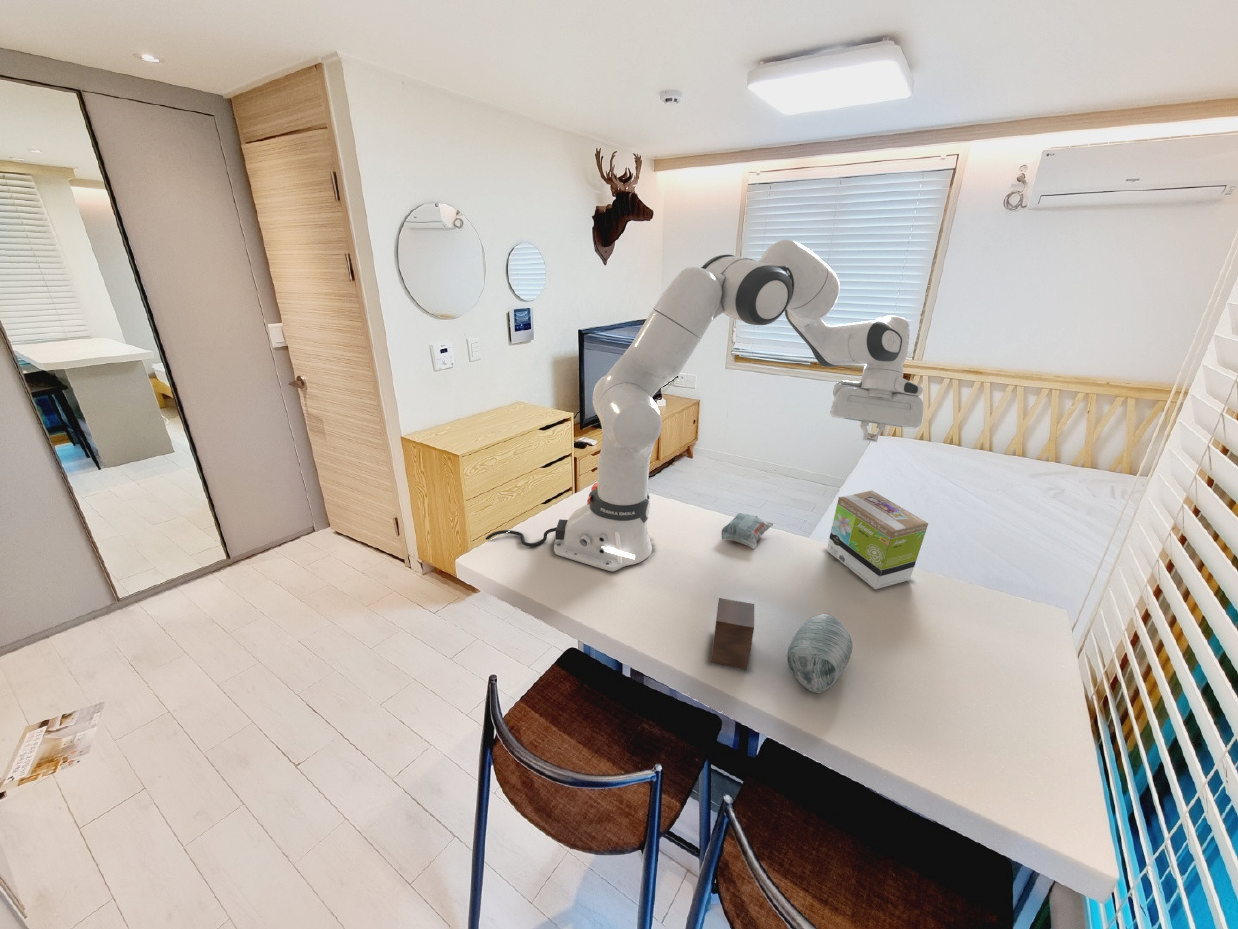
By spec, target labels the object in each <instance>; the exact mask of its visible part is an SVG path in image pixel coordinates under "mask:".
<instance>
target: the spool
mask: <svg viewBox="0 0 1238 929" xmlns="http://www.w3.org/2000/svg"><path fill="white" fill-rule="evenodd" d="M853 648H854V645H853V640H852V636H851V634H850V632H849V631H848V629H847V628H846V626H845V625H844V624H843V623H842V622H841V621H840V620H839V619H837V618H836V617H834V616H832V615H830V614H827V613H824V614H823V613H822V614H817V615H815V616H813V617H810V618H809V619H808V620H807V621H805V623H803V624H802V626H801V627H799V629H798V630H797V631H796V633H795V634H794V636H793V637H792V640H791V642H790V644H789V647H788V649H787V655H786V656H787V657H786V660H787V664H788V666H789V669H790V671H791V673H792V675H793V676H794V677H795V679H796V680H797V681H798V683H799V684H800V685H801V686H803V687H804V688H805V689H806V690H808V691H810V692H813V693H818V694H819V693H820V694H821V693H823V692H824V691H826V690H828V689H829V688H830V687H832V686H833V685H834V684H835V683H836V681H838V679H839V677H840V676H841V675H842V674H843V671H844V670H845V668H846V666H847V665H848V663H849V661H850V659H851V656H852V653H853V650H854V649H853Z"/></svg>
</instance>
